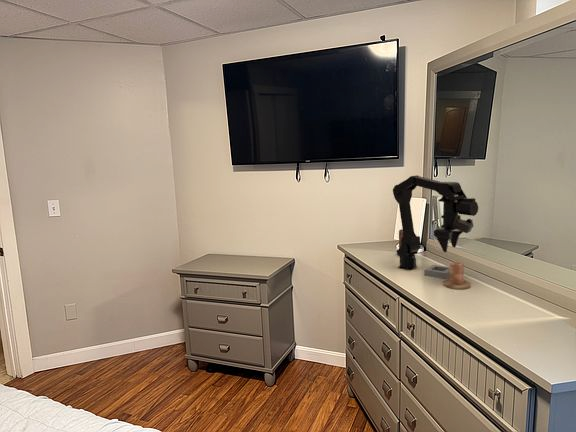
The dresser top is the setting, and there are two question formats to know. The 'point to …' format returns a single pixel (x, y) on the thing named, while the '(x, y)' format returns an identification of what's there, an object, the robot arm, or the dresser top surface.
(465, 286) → the pad
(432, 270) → the collar
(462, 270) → the block
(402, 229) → the can
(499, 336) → the dresser top surface
